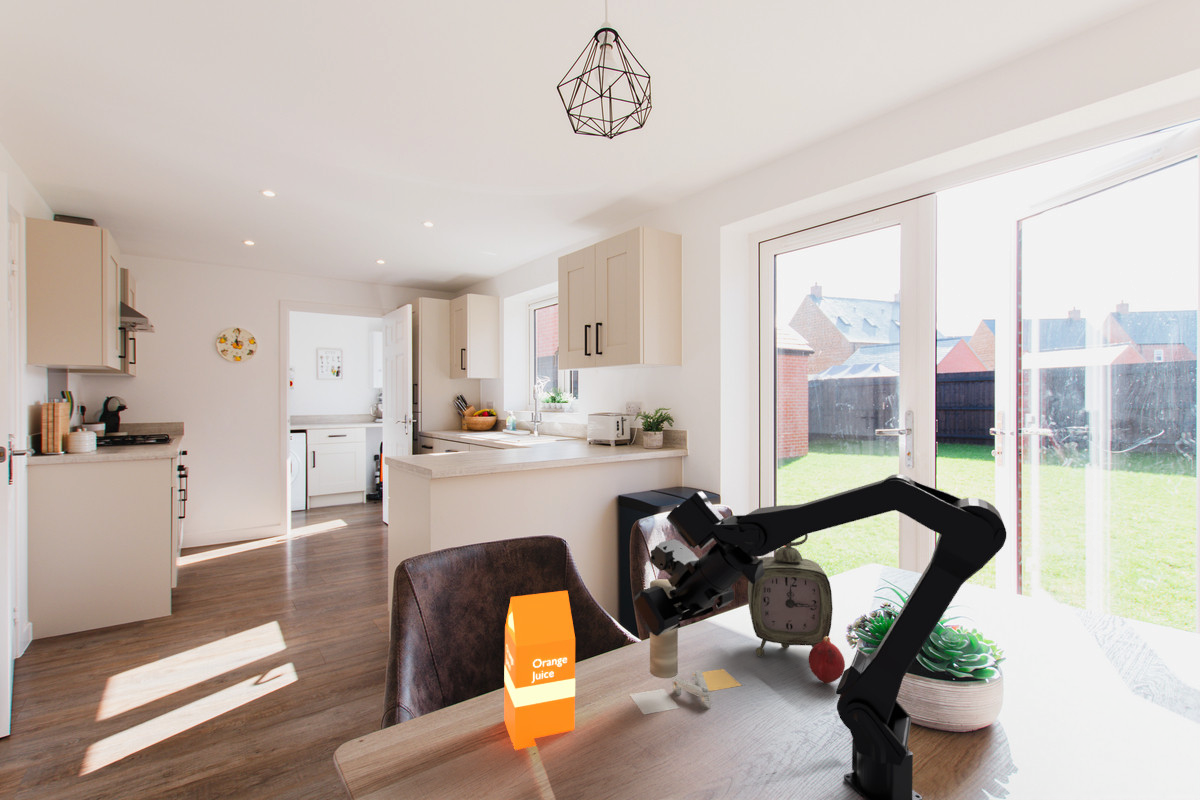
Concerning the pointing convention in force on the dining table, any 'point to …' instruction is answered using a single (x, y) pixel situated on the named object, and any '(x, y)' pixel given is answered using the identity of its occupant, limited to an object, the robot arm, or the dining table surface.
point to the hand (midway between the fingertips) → (657, 625)
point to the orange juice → (539, 667)
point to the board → (664, 702)
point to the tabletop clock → (790, 600)
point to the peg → (664, 644)
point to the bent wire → (694, 688)
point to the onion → (826, 661)
